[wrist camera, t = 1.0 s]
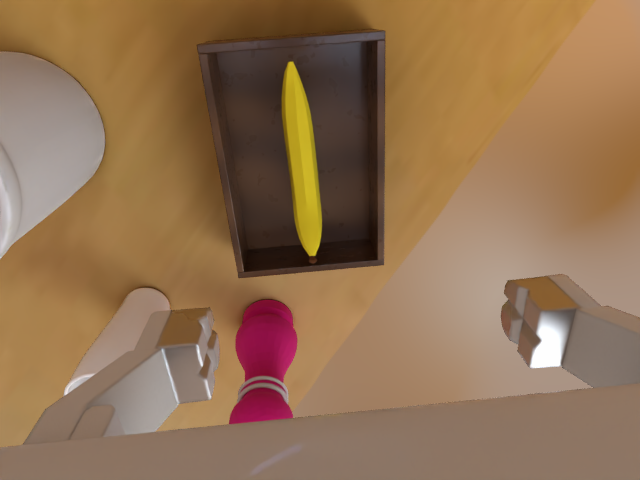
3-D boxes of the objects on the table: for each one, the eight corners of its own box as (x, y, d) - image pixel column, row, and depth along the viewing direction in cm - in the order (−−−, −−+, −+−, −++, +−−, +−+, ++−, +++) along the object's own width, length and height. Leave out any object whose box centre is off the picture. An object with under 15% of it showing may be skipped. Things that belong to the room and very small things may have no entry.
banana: (305, 53, 40) (308, 59, 35) (323, 234, 49) (328, 262, 43) (274, 57, 40) (272, 63, 35) (297, 237, 49) (299, 265, 43)
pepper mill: (289, 290, 53) (290, 427, 35) (302, 335, 56) (309, 481, 38) (232, 302, 53) (204, 445, 35) (248, 346, 56) (230, 497, 39)
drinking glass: (151, 270, 50) (102, 361, 37) (189, 309, 53) (156, 407, 40) (107, 297, 52) (44, 395, 38) (146, 334, 54) (101, 436, 41)
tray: (207, 41, 40) (196, 44, 35) (373, 28, 40) (385, 30, 35) (243, 252, 50) (238, 278, 45) (374, 241, 51) (384, 265, 46)
